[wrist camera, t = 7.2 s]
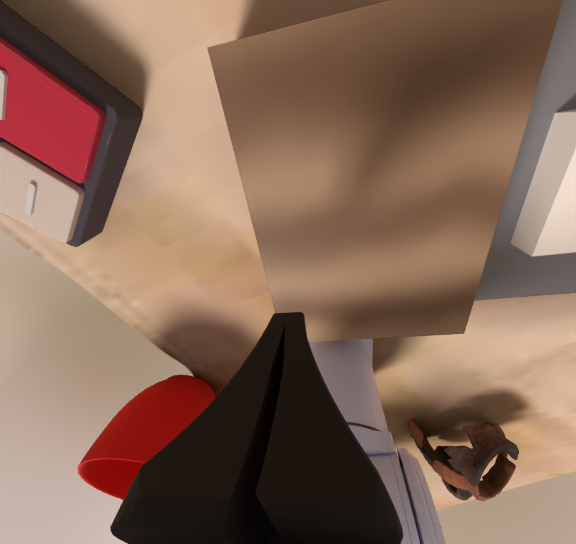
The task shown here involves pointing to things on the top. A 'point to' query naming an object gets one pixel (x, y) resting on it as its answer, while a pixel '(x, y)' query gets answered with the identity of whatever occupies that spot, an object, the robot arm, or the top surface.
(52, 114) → the calculator
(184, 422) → the ceramic cup
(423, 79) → the block
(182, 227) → the top surface
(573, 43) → the mat
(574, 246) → the tile
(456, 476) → the pottery mug
